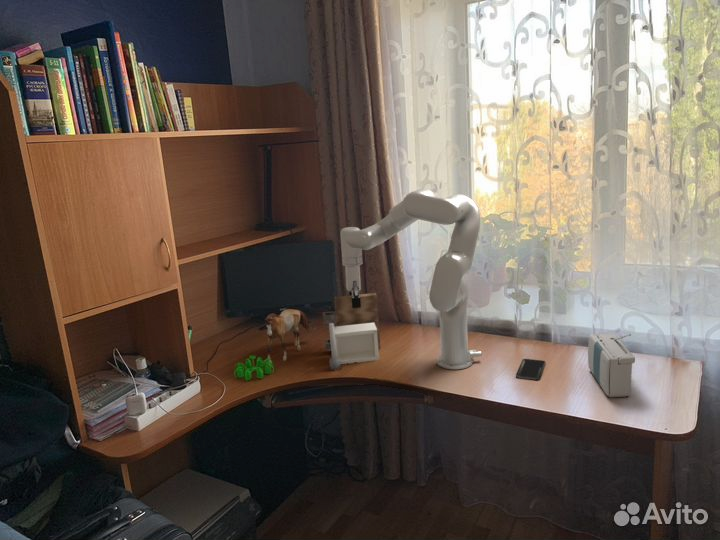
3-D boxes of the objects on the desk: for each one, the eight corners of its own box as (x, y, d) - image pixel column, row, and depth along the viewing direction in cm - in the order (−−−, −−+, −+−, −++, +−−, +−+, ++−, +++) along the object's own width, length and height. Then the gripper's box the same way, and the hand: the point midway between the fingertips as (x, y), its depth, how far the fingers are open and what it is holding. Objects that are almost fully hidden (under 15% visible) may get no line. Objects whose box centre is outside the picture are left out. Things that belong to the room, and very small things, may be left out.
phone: (515, 375, 190) (523, 358, 203) (515, 379, 191) (523, 361, 204) (540, 378, 187) (546, 360, 200) (540, 382, 187) (546, 363, 200)
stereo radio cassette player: (586, 370, 192) (588, 313, 187) (612, 369, 191) (614, 312, 186) (605, 399, 172) (607, 337, 167) (634, 399, 171) (637, 336, 166)
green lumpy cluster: (227, 373, 213) (225, 356, 211) (265, 362, 220) (263, 345, 218) (242, 387, 200) (240, 368, 198) (282, 374, 208) (280, 356, 206)
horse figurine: (274, 371, 210) (268, 318, 205) (257, 369, 214) (251, 316, 209) (318, 341, 237) (313, 293, 232) (302, 339, 240) (297, 292, 235)
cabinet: (376, 351, 221) (373, 309, 217) (381, 365, 209) (377, 320, 205) (328, 357, 220) (324, 315, 215) (330, 370, 207) (326, 326, 203)
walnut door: (379, 345, 228) (375, 292, 222) (380, 350, 223) (377, 295, 217) (326, 351, 226) (321, 297, 220) (326, 356, 221) (321, 301, 215)
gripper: (340, 256, 224) (343, 298, 228) (344, 266, 207) (347, 311, 211) (359, 254, 224) (362, 296, 229) (364, 264, 208) (367, 309, 212)
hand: (355, 303), depth 220 cm, fingers open, 9 cm apart
